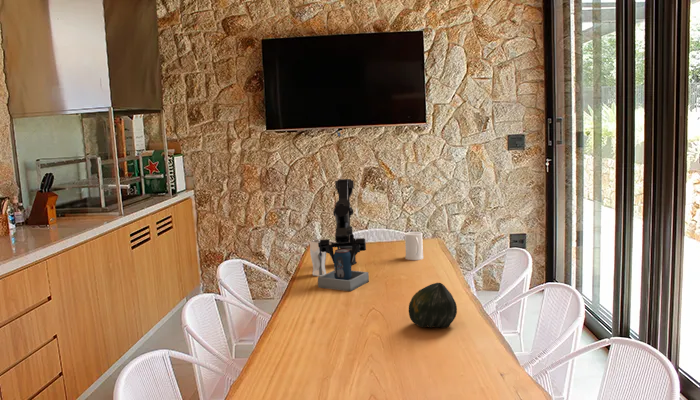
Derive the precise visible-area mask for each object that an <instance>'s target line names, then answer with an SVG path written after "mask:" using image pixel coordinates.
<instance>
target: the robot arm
mask: <svg viewBox="0 0 700 400" xmlns="http://www.w3.org/2000/svg"><path fill="white" fill-rule="evenodd" d="M334 184H335V185H334V186H335V187H334V188H335V190H336V192H337V194H338V200H337V201H336V202H335V207H333V210H332V211H333V212H332V213H333V214H332V215H333V217H335V223H336V225H335V226H336V227H335V235H334V239H335V242H333V241H330V239H329V238H326V239H324V238H320V239H321V240H320V242H319V245H320V251H321V252H326V254H329V256H330V258H331V260H332V264H334V253H335V251H334V248H337V249H348V250H349V252H350V254H351V266H353V265H354V264H355V265H356V264H357V261H356V259H357V258H356V257H357V256H356V255H357V254H358V253H361V252H363V251H366V250H367V246H366V245H367V244H366V242H367V241H366V238H364V237H362V238H361V237H360V238H359V237H355V235H354V234H353V233H354V232H353V226H351V217H352V216H353V215H354V209H353V207H352V206H351V201H350V198H351V196H352V195H353V193H354V191H353V190H354V189H355V182H354V180H352V179H351V178H340V179H338V180H335V182H334ZM337 249H336V250H337Z"/></svg>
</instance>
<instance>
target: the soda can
mask: <svg viewBox="0 0 700 400" xmlns="http://www.w3.org/2000/svg"><path fill="white" fill-rule="evenodd" d="M333 269H334V270H333V271H334V277H335V279H341V280H350V278H351V276H352V274H351V270H352V265H351V254H350V252H349V250H348V249H340V248H339V249H335V251H334V263H333Z"/></svg>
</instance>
